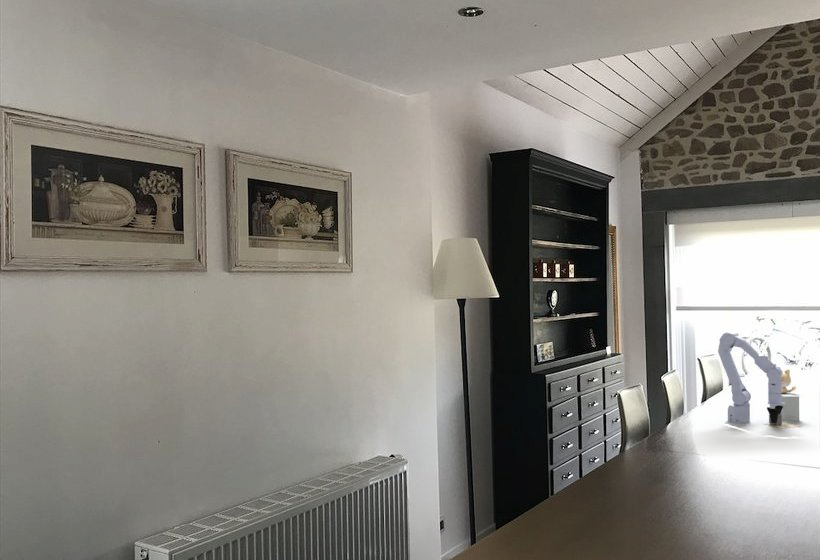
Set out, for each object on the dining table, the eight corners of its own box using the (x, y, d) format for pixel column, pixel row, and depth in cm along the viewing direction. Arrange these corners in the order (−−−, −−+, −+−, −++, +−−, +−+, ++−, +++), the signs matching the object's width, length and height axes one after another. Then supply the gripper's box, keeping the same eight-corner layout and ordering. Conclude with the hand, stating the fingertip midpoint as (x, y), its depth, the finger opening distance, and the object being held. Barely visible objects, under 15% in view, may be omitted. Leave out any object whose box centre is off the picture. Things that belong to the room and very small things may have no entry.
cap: (774, 424, 354) (774, 415, 354) (766, 422, 359) (767, 413, 359) (784, 424, 354) (784, 414, 354) (776, 422, 360) (776, 412, 360)
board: (776, 430, 348) (776, 427, 348) (763, 426, 358) (763, 423, 358) (802, 429, 351) (802, 426, 351) (788, 424, 361) (788, 422, 361)
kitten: (764, 392, 466) (764, 367, 466) (778, 391, 469) (777, 366, 469) (783, 395, 452) (783, 370, 452) (797, 394, 455) (796, 369, 455)
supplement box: (799, 422, 366) (799, 396, 366) (784, 422, 366) (784, 396, 366) (792, 419, 374) (792, 394, 374) (777, 419, 374) (777, 394, 374)
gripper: (781, 395, 348) (781, 425, 348) (787, 391, 360) (787, 420, 360) (764, 394, 352) (765, 423, 352) (770, 390, 364) (771, 418, 364)
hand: (775, 421), depth 357 cm, fingers closed on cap, 5 cm apart
